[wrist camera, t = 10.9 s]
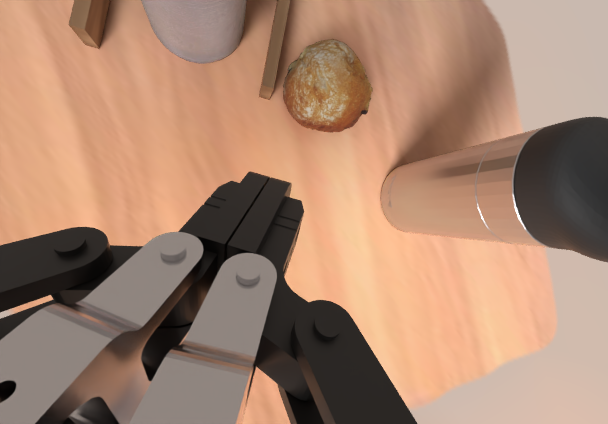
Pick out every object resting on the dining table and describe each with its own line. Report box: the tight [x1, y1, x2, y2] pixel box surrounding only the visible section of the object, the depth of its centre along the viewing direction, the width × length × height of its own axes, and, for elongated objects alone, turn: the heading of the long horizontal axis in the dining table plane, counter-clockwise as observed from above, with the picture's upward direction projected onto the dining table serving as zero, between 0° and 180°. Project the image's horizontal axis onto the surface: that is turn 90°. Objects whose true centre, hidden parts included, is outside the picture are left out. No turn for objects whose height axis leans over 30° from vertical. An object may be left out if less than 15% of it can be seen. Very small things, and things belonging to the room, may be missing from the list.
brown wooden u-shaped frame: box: [69, 0, 290, 100], centre depth 29 cm, size 18×14×3 cm
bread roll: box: [283, 39, 372, 132], centre depth 32 cm, size 10×10×8 cm
